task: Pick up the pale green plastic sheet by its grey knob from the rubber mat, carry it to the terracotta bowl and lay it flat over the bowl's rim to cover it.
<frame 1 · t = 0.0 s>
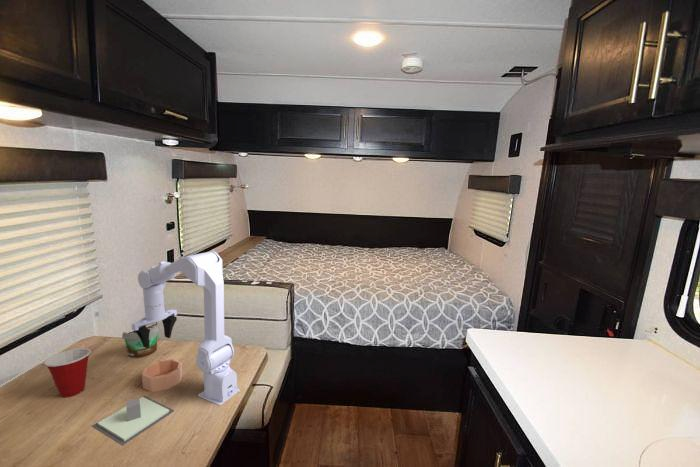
hand: (157, 341, 112), 10 cm above the table, tool pointing down, fingers open, 7 cm apart
bowl: (163, 382, 107), on the table
mat: (134, 419, 90), on the table
food container: (145, 354, 123), on the table
sheet: (134, 418, 90), resting on mat
plastic cup: (72, 391, 101), on the table
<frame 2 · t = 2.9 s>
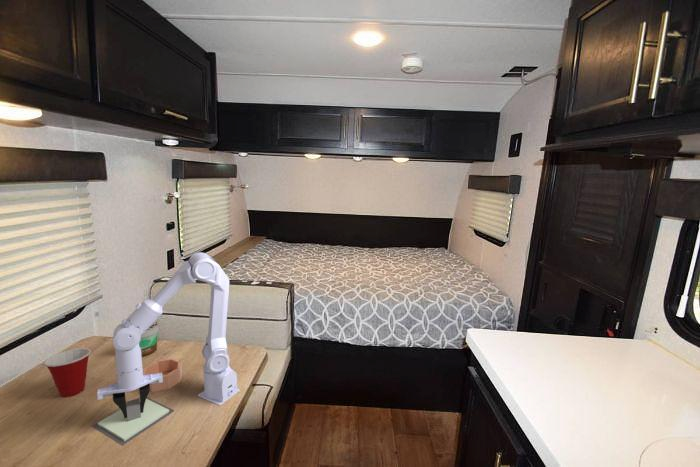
hand: (134, 413, 90), 2 cm above the table, tool pointing down, fingers closed on sheet, 3 cm apart
sheet: (134, 418, 90), resting on mat, touching gripper
everything else where it was.
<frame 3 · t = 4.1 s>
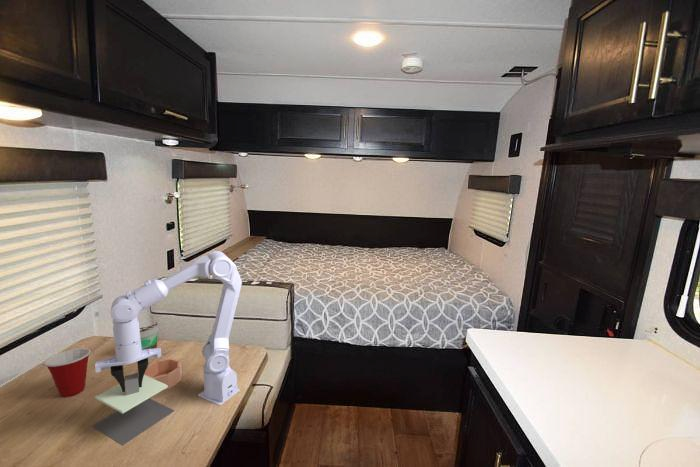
hand: (132, 387, 89), 9 cm above the table, tool pointing down, fingers closed on sheet, 3 cm apart
sheet: (132, 392, 89), point 8 cm above the table, touching gripper
everything else where it was.
when the fingers open (7 cm above the table, at t = 5.8 s): sheet stays where it is, resting on bowl.
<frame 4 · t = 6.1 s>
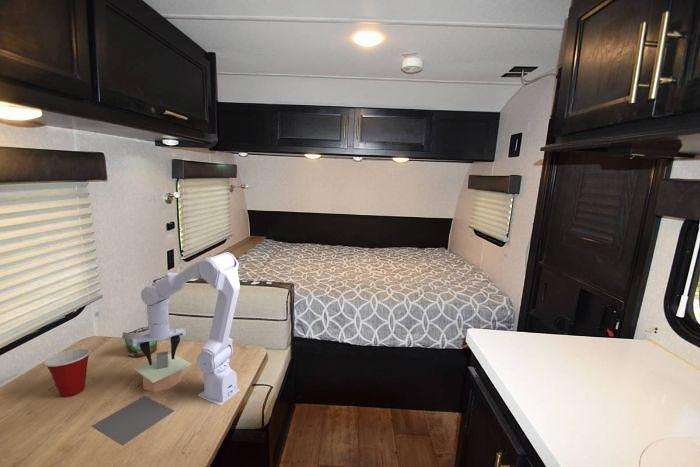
hand: (161, 360, 106), 7 cm above the table, tool pointing down, fingers open, 6 cm apart
bowl: (163, 382, 107), on the table, touching sheet
sheet: (163, 367, 106), point 5 cm above the table, touching bowl
everything else where it was.
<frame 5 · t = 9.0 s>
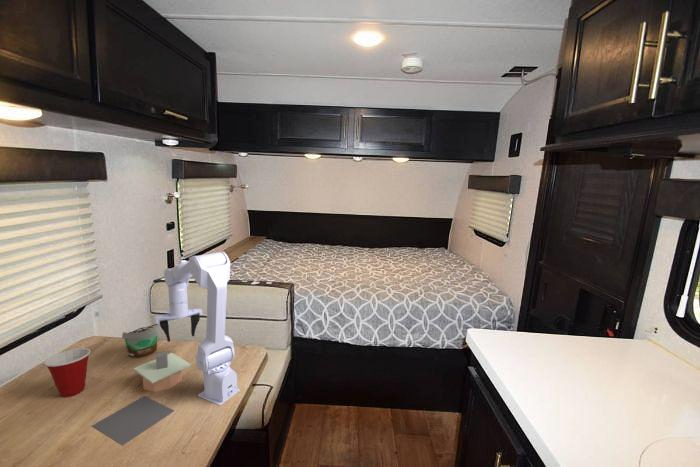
hand: (181, 337, 116), 10 cm above the table, tool pointing down, fingers open, 7 cm apart
nothing on the table moved.
at the end: sheet 0.1 cm off-centre on the bowl, point 5.0 cm above the bowl's base; sheet tilted 0°; the gripper is holding nothing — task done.
